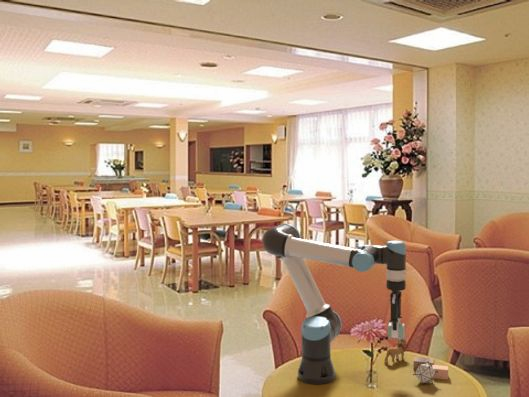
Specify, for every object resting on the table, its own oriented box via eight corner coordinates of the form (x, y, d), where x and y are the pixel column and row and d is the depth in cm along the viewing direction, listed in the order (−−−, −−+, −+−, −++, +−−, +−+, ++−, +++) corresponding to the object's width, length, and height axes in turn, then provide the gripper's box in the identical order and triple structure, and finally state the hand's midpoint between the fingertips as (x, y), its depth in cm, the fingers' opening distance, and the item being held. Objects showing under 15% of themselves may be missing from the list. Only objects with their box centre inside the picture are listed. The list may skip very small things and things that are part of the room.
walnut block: (413, 370, 221) (413, 360, 221) (414, 365, 226) (414, 356, 225) (433, 372, 218) (433, 363, 218) (434, 368, 223) (434, 358, 222)
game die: (429, 393, 207) (439, 380, 201) (408, 384, 208) (418, 371, 202) (432, 375, 214) (441, 361, 207) (411, 366, 215) (420, 352, 209)
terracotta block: (432, 378, 213) (432, 368, 212) (432, 374, 217) (432, 364, 216) (448, 379, 211) (448, 370, 211) (447, 375, 215) (447, 366, 214)
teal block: (388, 337, 214) (388, 325, 214) (389, 334, 218) (389, 322, 218) (403, 339, 212) (403, 327, 212) (404, 335, 216) (404, 324, 215)
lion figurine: (398, 354, 238) (398, 335, 237) (409, 357, 234) (409, 337, 233) (381, 364, 227) (381, 344, 226) (392, 368, 223) (392, 347, 222)
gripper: (402, 285, 204) (402, 343, 206) (408, 275, 220) (407, 330, 222) (382, 283, 207) (382, 341, 209) (390, 274, 222) (389, 328, 224)
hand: (395, 335), depth 215 cm, fingers closed on teal block, 4 cm apart
